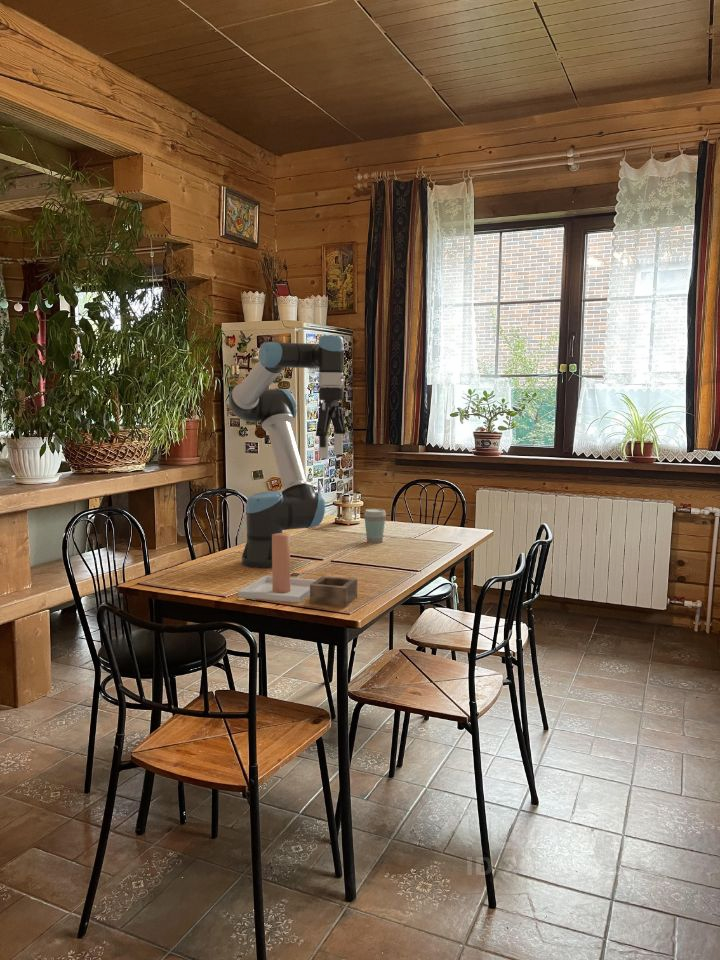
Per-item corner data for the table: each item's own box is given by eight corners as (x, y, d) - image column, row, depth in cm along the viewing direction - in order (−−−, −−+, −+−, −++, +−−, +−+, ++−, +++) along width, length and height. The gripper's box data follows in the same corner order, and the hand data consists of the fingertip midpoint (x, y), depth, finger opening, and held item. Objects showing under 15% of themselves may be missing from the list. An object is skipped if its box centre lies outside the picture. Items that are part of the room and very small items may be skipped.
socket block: (309, 607, 195) (309, 585, 195) (322, 597, 205) (322, 575, 204) (345, 610, 192) (345, 588, 192) (357, 600, 202) (357, 578, 201)
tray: (237, 600, 201) (237, 591, 201) (265, 583, 219) (265, 575, 218) (299, 606, 196) (299, 596, 196) (322, 588, 213) (322, 580, 213)
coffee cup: (386, 543, 276) (386, 512, 274) (363, 543, 276) (363, 512, 274) (385, 539, 284) (386, 508, 283) (363, 539, 284) (363, 508, 283)
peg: (269, 592, 206) (269, 535, 204) (276, 587, 210) (276, 532, 208) (286, 593, 204) (285, 537, 202) (293, 589, 209) (292, 533, 207)
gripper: (329, 386, 212) (329, 460, 215) (355, 387, 236) (354, 453, 239) (304, 386, 215) (305, 459, 217) (333, 387, 238) (333, 452, 241)
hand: (331, 456), depth 228 cm, fingers open, 13 cm apart
